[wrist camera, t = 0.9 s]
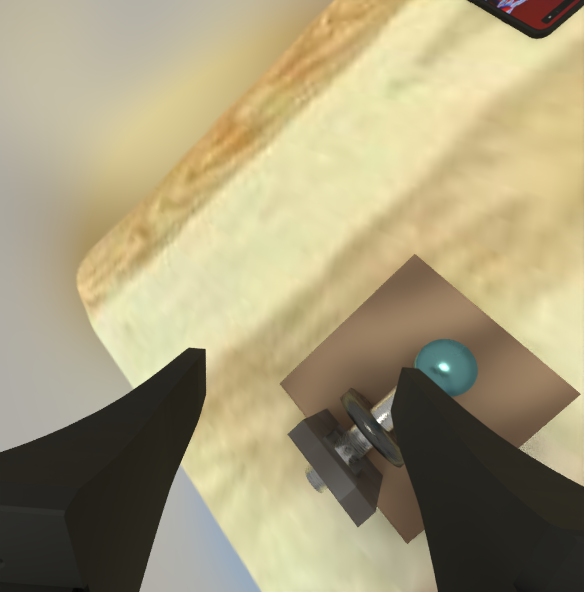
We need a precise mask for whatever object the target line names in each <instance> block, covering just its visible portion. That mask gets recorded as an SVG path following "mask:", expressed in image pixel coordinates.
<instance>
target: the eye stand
mask: <svg viewBox="0 0 584 592" xmlns="http://www.w3.org/2000/svg"><path fill="white" fill-rule="evenodd" d="M438 339H450V340H454V341H457V342H459V343H461V344H463V345H464V346H466V347H467V348H468V349H469V350H470V351H471V352H472V354H473V355H474V357H475V359H476V362H477V367H478V374H477V378H476V381H475V383H474V385H473V386H472V387H471V388H470V389H469V390H468V391H467V392H465V393H463V394H461V395H458V396H453V397H452V398H453V399H454V400H455V401H456V402H458V403H459V404H460V405H461V406H462V407H463V408H465V409H466V410H467V411H468V412H469V413H471V414H472V415H473V416H474V417H476V418H477V419H478V420H479V421H481V422H482V423H483V424H484V425H486V426H487V427H488V428H490V429H491V430H492V431H494V432H495V433H496V434H498V435H499V436H501V437H502V438H504V439H505V440H506V441H508V442H509V443H511V444H512V445H514V446H515V447H517V448H519V447H520V446H521V445H523V444H524V443H525V442H526V441H527V440H528V439H529V438H531V437H532V436H533V435H534V434H535V433H536V432H538V431H539V430H540V429H541V428H542V427H543V426H545V425H546V424H547V423H548V422H549V421H550V420H552V419H553V418H554V417H555V416H556V415H557V414H558V413H560V412H561V411H562V410H563V409H564V408H565V407H567V406H568V405H569V404H570V403H571V402H572V401H574V400H575V399H576V398H577V397H578V396H579V395H580V393H579V392H578V391H576V390H575V389H574V388H573V387H572V386H570V385H569V384H568V383H567V382H566V381H565V380H563V379H562V378H561V377H560V376H559V375H557V374H556V373H555V372H554V371H553V370H552V369H550V368H549V367H548V366H547V365H546V364H544V363H543V362H542V361H541V360H540V359H538V358H537V357H536V356H535V355H534V354H533V353H531V352H530V351H529V350H528V349H527V348H525V347H524V346H523V345H522V344H521V343H520V342H518V341H517V340H516V339H515V338H514V337H512V336H511V335H510V334H509V333H508V332H507V331H505V330H504V329H503V328H502V327H501V326H499V325H498V324H497V323H496V322H495V321H493V320H492V319H491V318H490V317H489V316H488V315H486V314H485V313H484V312H483V311H482V310H480V309H479V308H478V307H477V306H476V305H475V304H473V303H472V302H471V301H470V300H469V299H467V298H466V297H465V296H464V295H463V294H462V293H460V292H459V291H458V290H457V289H456V288H454V287H453V286H452V285H451V284H450V283H448V282H447V281H446V280H445V279H444V278H443V277H441V276H440V275H439V274H438V273H437V272H435V271H434V270H433V269H432V268H431V267H430V266H428V265H427V264H426V263H425V262H424V261H422V260H421V259H420V258H419V257H418V256H416V255H415V254H414V255H413V256H412V257H411V258H410V259H409V260H408V261H407V262H406V263H405V264H404V265H403V266H402V267H401V268H400V269H399V270H398V271H397V272H396V273H394V274H393V275H392V276H391V277H390V278H389V279H388V280H387V281H386V282H385V283H384V284H383V285H382V286H381V287H380V288H379V289H378V290H377V291H376V292H375V293H374V294H373V295H372V296H370V297H369V298H368V299H367V300H366V301H365V302H364V303H363V304H362V305H361V306H360V307H359V308H358V309H357V310H356V311H355V312H354V313H353V314H352V315H351V316H350V317H349V318H348V319H346V320H345V321H344V322H343V323H342V324H341V325H340V326H339V327H338V328H337V329H336V330H335V331H334V332H333V333H332V334H331V335H330V336H329V337H328V338H327V339H326V340H325V341H323V342H322V343H321V344H320V345H319V346H318V347H317V348H316V349H315V350H314V351H313V352H312V353H311V354H310V355H309V356H308V357H307V358H306V359H305V360H304V361H303V362H302V363H301V364H299V365H298V366H297V367H296V368H295V369H294V370H293V371H292V372H291V373H290V374H289V375H288V376H287V377H286V378H285V379H284V380H283V381H282V382H281V383H280V385H281V386H282V387H283V389H284V390H285V391H286V392H287V394H288V395H289V396H290V397H291V399H292V400H293V401H294V402H295V404H296V405H297V406H298V407H299V409H300V410H301V411H302V412H303V414H304V415H305V416H306V417H307V418H306V419H304V420H302V421H301V422H300V423H299V424H298V425H297V426H296V427H295V428H294V429H293V430H292V431H291V432H290V433H288V435H289V437H290V438H291V439H292V441H293V442H294V443H295V445H296V446H297V447H298V449H299V450H300V451H301V453H302V454H303V455H304V457H305V458H306V459H307V461H308V462H309V463H310V465H311V466H312V467H313V469H314V470H315V471H316V473H317V474H318V475H319V476H320V478H321V479H322V480H323V482H324V483H325V484H326V486H327V487H328V488H329V490H330V491H331V492H332V494H333V495H334V496H335V498H336V499H337V500H338V502H339V503H340V504H341V506H342V507H343V508H344V510H345V511H346V512H347V514H348V515H349V516H350V518H351V519H352V520H353V521H354V523H355V524H356V525H357V527H359V526H360V525H361V524H362V523H363V522H365V521H366V520H367V519H368V518H369V517H370V516H371V515H372V514H374V513H375V512H376V507H378V508H379V509H380V510H381V512H382V513H383V514H384V515H385V517H386V518H387V519H388V520H389V522H390V523H391V524H392V525H393V527H394V528H395V529H396V530H397V532H398V533H399V534H400V535H401V537H402V538H403V539H404V540H405V542H406V543H407V544H408V543H409V542H410V541H411V540H412V539H414V538H415V537H416V536H417V535H418V534H419V533H421V532H422V531H423V530H424V524H423V520H422V516H421V512H420V508H419V505H418V502H417V498H416V495H415V492H414V489H413V486H412V484H411V481H410V478H409V475H408V472H407V469H406V466H405V464H404V465H403V466H402V467H401V468H398V467H396V466H394V465H393V464H391V463H390V462H389V461H388V460H387V459H385V458H384V457H383V456H382V455H381V454H380V453H379V452H378V451H377V450H376V449H375V448H374V447H373V448H371V449H370V450H369V451H368V452H367V453H366V454H365V455H364V456H363V457H361V458H360V459H359V460H358V461H357V462H356V463H355V464H354V465H353V466H352V467H349V466H348V465H347V464H346V462H345V461H344V460H343V459H342V457H341V456H340V455H339V454H338V452H337V451H336V450H335V449H334V447H333V446H332V444H334V443H335V442H336V441H337V440H338V439H339V438H340V437H341V436H342V435H343V434H344V433H345V432H347V431H348V430H349V429H350V428H351V427H352V426H353V425H354V423H353V421H352V420H351V418H350V417H349V415H348V414H347V412H346V411H345V409H344V407H343V405H342V403H341V400H340V397H341V396H342V395H343V394H344V393H345V392H346V391H348V390H349V389H350V388H353V389H355V390H356V391H358V392H359V393H360V394H361V395H363V396H364V397H365V398H366V399H367V400H368V401H369V402H370V403H371V404H372V405H373V406H375V405H376V404H377V403H378V402H379V401H380V400H381V399H382V398H384V397H385V396H386V395H387V394H388V393H389V392H390V391H391V390H392V389H393V388H394V387H396V386H397V384H398V380H399V376H400V373H401V369H402V367H407V368H413V362H414V359H415V358H416V356H417V355H418V353H419V352H420V351H421V349H422V348H423V347H424V346H425V345H427V344H428V343H430V342H432V341H435V340H438Z"/></svg>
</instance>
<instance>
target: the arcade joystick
mask: <svg viewBox="0 0 584 592" xmlns="http://www.w3.org/2000/svg"><path fill="white" fill-rule="evenodd" d="M413 368H418V369H420V370H421V371H422V372H424V373H425V374H426V375H427V376H428V377H429V378H430V379H432V380H433V381H434V382H435V383H436V384H437V385H438V386H439V387H441V388H442V389H443V390H444V391H445V392H446V393H447V394H448V395H450V396H451V397H453V396H458V395H461V394H463V393H465V392H467V391H468V390H469V389H470V388H471V387H472V386H473V385H474V383H475V381H476V378H477V374H478V367H477V362H476V359H475V357H474V355H473V354H472V352H471V351H470V350H469V349H468V348H467V347H466V346H464V345H463V344H461V343H459V342H457V341H454V340H450V339H438V340H435V341H432V342H430V343H428V344H427V345H425V346H424V347H423V348H422V349H421V351H420V352H419V353H418V355H417V356H416V358H415V359H414V362H413ZM396 387H397V386H396ZM396 387H394V388H393V389H392V390H391V391H390V392H389V393H388V394H387V395H386V396H385V397H384V398H382V399H381V400H380V401H379V402H378V403H377V404H376V405H375V406H373V405H372V404H371V403H370V402H369V401H368V400H367V399H366V398H365V397H364V396H363V395H361V394H360V393H359V392H358V391H356V390H355V389H353V388H350V389H349V390H348V391H346V392H345V393H344V394H343V395H342V396H341V397H340V400H341V403H342V405H343V407H344V409H345V411H346V412H347V414H348V415H349V417H350V418H351V420H352V421H353V423H354V425H353V426H352V427H351V428H350V429H349V430H348V431H347V432H345V433H344V434H343V435H342V436H341V437H340V438H339V439H338V440H337V441H336V442H335V443H334V444H332V446H333V447H334V449H335V450H336V451H337V452H338V454H339V455H340V456H341V457H342V459H343V460H344V461H345V462H346V464H347V465H348V466H349V467H352V466H353V465H354V464H355V463H356V462H357V461H358V460H359V459H360V458H361V457H363V456H364V455H365V454H366V453H367V452H368V451H369V450H370V449H371V448H373V447H374V448H375V449H376V450H377V451H378V452H379V453H380V454H381V455H382V456H383V457H384V458H385V459H387V460H388V461H389V462H390V463H391V464H393V465H394V466H396V467H398V468H401V467H402V466H403V465H404V464H405V463H404V460H403V458H402V455H401V452H400V449H399V446H398V443H397V440H396V437H395V432H394V427H393V422H392V417H391V411H390V410H391V406H392V402H393V399H394V395H395V391H396ZM305 473H306V476H307V478H308V480H309V482H310V483H311V485H312V486H313V487H314V488H315V489H316V490H317V491H318V492H320V493H323V492H324V491H325V490H326V489H327V488H328V487H327V486H326V484H325V483H324V482H323V480H322V479H321V478H320V476H319V475H318V474H317V473H316V471H315V470H314V469H313V467H312V466H311V465H310V466H309V467H307V468H306V470H305Z"/></svg>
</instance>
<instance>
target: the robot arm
mask: <svg viewBox="0 0 584 592" xmlns="http://www.w3.org/2000/svg"><path fill="white" fill-rule="evenodd" d="M205 396H206V349H198V348H188V349H186V350H185V351H184V352H183V353H181V354H180V355H179V356H178V357H176V358H175V359H174V360H173V361H171V362H170V363H169V364H168V365H166V366H165V367H164V368H163V369H161V370H160V371H159V372H157V373H156V374H155V375H153V376H152V377H151V378H150V379H148V380H147V381H145V382H144V383H142V384H141V385H139V386H138V387H137V388H135V389H134V390H132V391H131V392H130V393H128V394H126V395H125V396H123V397H122V398H120V399H118V400H117V401H115V402H113V403H111V404H110V405H108V406H106V407H105V408H103V409H101V410H99V411H97V412H95V413H93V414H91V415H89V416H87V417H85V418H83V419H81V420H79V421H78V422H75V423H73V424H71V425H69V426H67V427H65V428H63V429H60V430H58V431H55V432H53V433H51V434H48V435H46V436H44V437H41V438H38V439H36V440H33V441H31V442H28V443H26V444H23V445H20V446H17V447H14V448H12V449H9V450H6V451H3V452H0V592H139V591H140V587H141V583H142V580H143V577H144V573H145V569H146V566H147V562H148V559H149V556H150V552H151V549H152V545H153V542H154V539H155V535H156V532H157V529H158V525H159V522H160V519H161V516H162V512H163V509H164V506H165V503H166V500H167V497H168V494H169V490H170V488H171V485H172V482H173V480H174V477H175V474H176V472H177V470H178V468H179V465H180V463H181V461H182V458H183V456H184V454H185V451H186V449H187V447H188V444H189V442H190V440H191V437H192V435H193V432H194V430H195V428H196V425H197V423H198V420H199V417H200V414H201V411H202V407H203V404H204V400H205ZM390 411H391V417H392V422H393V427H394V432H395V437H396V440H397V443H398V446H399V449H400V452H401V455H402V458H403V460H404V463H405V466H406V469H407V472H408V475H409V478H410V481H411V484H412V486H413V489H414V492H415V495H416V498H417V502H418V505H419V508H420V512H421V516H422V520H423V524H424V529H425V533H426V537H427V541H428V546H429V550H430V555H431V560H432V564H433V569H434V573H435V578H436V584H437V589H438V592H584V487H583V486H581V485H580V484H578V483H576V482H574V481H572V480H570V479H568V478H566V477H565V476H563V475H561V474H559V473H557V472H556V471H554V470H552V469H550V468H549V467H547V466H545V465H544V464H542V463H541V462H539V461H537V460H536V459H534V458H532V457H531V456H529V455H527V454H526V453H524V452H523V451H521V450H520V449H518V448H517V447H515V446H514V445H512V444H511V443H509V442H508V441H506V440H505V439H504V438H502V437H501V436H499V435H498V434H496V433H495V432H494V431H492V430H491V429H490V428H488V427H487V426H486V425H484V424H483V423H482V422H481V421H479V420H478V419H477V418H476V417H474V416H473V415H472V414H471V413H469V412H468V411H467V410H466V409H465V408H463V407H462V406H461V405H460V404H459V403H458V402H456V401H455V400H454V399H453V398H452V397H451V396H450V395H448V394H447V393H446V392H445V391H444V390H443V389H442V388H441V387H439V386H438V385H437V384H436V383H435V382H434V381H433V380H432V379H430V378H429V377H428V376H427V375H426V374H425V373H424V372H422V371H421V370H420V369H418V368H407V367H402V369H401V373H400V376H399V380H398V384H397V387H396V391H395V395H394V399H393V402H392V406H391V410H390Z"/></svg>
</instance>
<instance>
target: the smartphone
mask: <svg viewBox="0 0 584 592" xmlns="http://www.w3.org/2000/svg"><path fill="white" fill-rule="evenodd" d="M468 1H470V2H472V3H473V4H475V5H477V6H478V7H480V8H482V9H483V10H485V11H487V12H488V13H490V14H492V15H494V16H495V17H497V18H499V19H500V20H502V21H504V22H505V23H507V24H509V25H510V26H512V27H514V28H515V29H517V30H519V31H520V32H522V33H524V34H525V35H527V36H529V37H531V38H535V39H539V38H544V37H546V36H548V35H549V34H551V33H552V32H553V31H554V30H555V29H557V28H558V27H559V26H560V25H561V24H562V23H564V22H565V21H566V20H567V19H568V18H570V17H571V16H572V15H573V14H574V13H575V12H577V11H578V10H579V9H580V8H581V7H582V6H584V0H468Z"/></svg>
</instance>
